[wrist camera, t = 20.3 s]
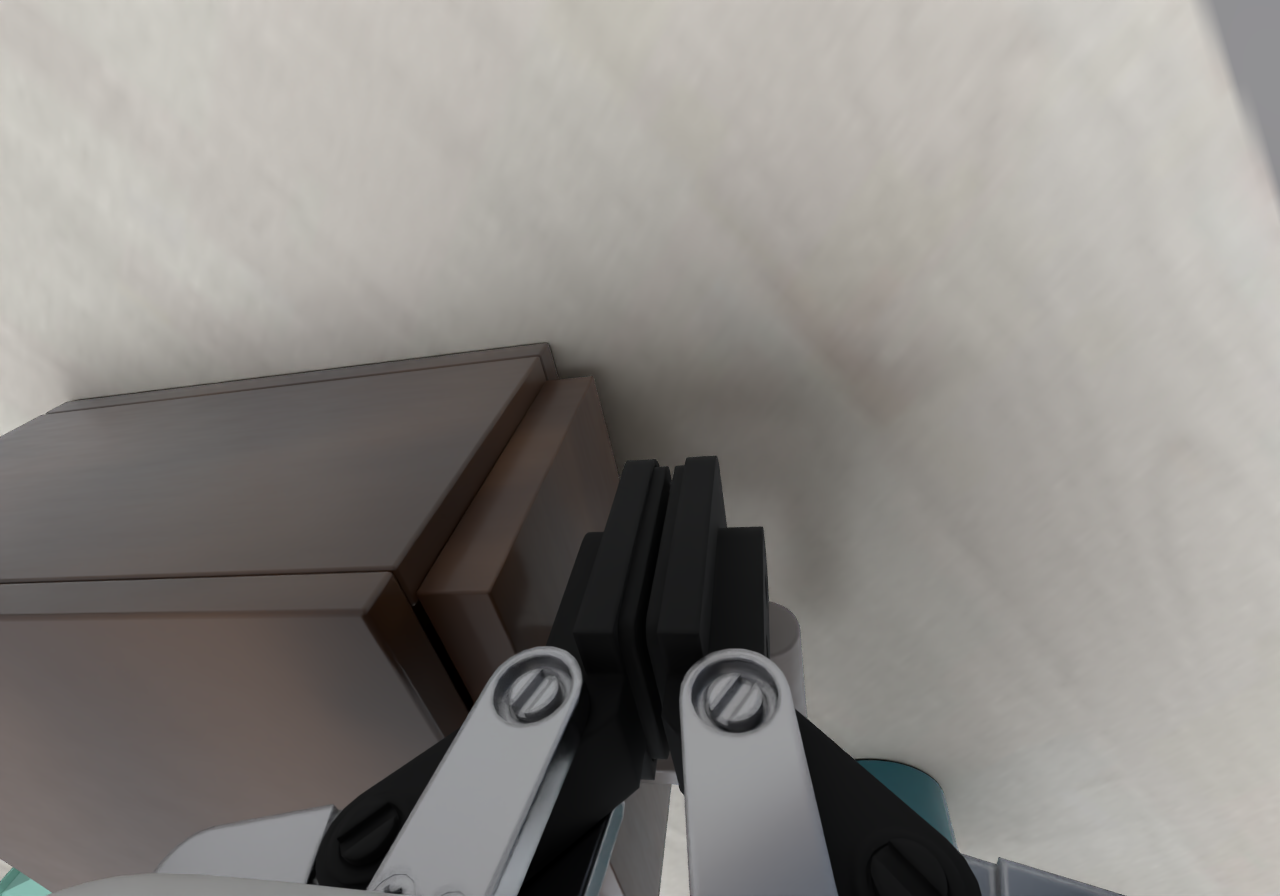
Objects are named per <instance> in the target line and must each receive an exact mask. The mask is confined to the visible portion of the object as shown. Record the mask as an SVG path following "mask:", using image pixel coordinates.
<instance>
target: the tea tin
mask: <svg viewBox="0 0 1280 896" xmlns="http://www.w3.org/2000/svg"><path fill="white" fill-rule="evenodd" d="M857 762H858V763H859V764H860V765H861V766H863V767H864V768H865V769H866V770H867V771H868V772H870V773H871V774H872V775H873V776H874V777H875V778H877V779H878V780H879V781H880V782H881V783H882V784H884V785H885V786H886V787H887V788H888V789H889V790H891V791H892V792H893V793H894V794H895V795H896V796H898V797H899V798H900V799H901V800H902V801H903V802H905V803H906V804H907V805H908V806H909V807H910V808H911V809H913V810H914V811H915V812H916V813H917V814H918V815H920V816H921V817H922V818H923V819H924V820H925V821H927V822H928V823H929V824H930V825H931V826H932V827H934V828H935V829H936V830H937V831H938V832H939V833H941V834H942V835H943V836H944V837H945V838H946V839H948V841H949V842H950V843H951V844H952V845H953V846H954V847H955V848H956V849H957V850H958V847H957V843H956V839H955V835H954V831H953V827H952V823H951V819H950V815H949V811H948V807H947V803H946V799H945V795H944V792H943V790H942V788H941V787H940V786H939V784H938V783H937V782H936V781H935V780H934V779H933V778H931V777H930V776H928V775H927V774H925V773H923V772H922V771H920V770H917V769H915V768H912V767H910V766H906V765H903V764H899V763H894V762H888V761H879V760H859V761H857Z"/></svg>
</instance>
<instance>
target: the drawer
mask: <svg viewBox="0 0 1280 896" xmlns="http://www.w3.org/2000/svg"><path fill="white" fill-rule="evenodd" d="M619 481H620V478H619V474H618V470H617V466H616V462H615V458H614V455H613V451H612V447H611V443H610V439H609V435H608V431H607V427H606V423H605V419H604V415H603V411H602V407H601V404H600V400H599V396H598V392H597V388H596V384H595V380H594V377H593V376H586V377H577V378H568V379H558V380H549V381H546V382H545V384H544V385H543V387H542V388H541V390H540V392H539V393H538V395H537V397H536V398H535V400H534V402H533V403H532V405H531V406H530V408H529V410H528V411H527V413H526V415H525V416H524V418H523V419H522V421H521V423H520V424H519V426H518V428H517V429H516V431H515V432H514V434H513V436H512V437H511V439H510V441H509V442H508V444H507V445H506V447H505V449H504V450H503V452H502V454H501V455H500V457H499V458H498V460H497V462H496V463H495V465H494V467H493V468H492V470H491V472H490V473H489V475H488V476H487V478H486V480H485V481H484V483H483V485H482V486H481V488H480V489H479V491H478V493H477V494H476V496H475V498H474V499H473V501H472V502H471V504H470V506H469V507H468V509H467V511H466V512H465V514H464V515H463V517H462V519H461V520H460V522H459V524H458V525H457V527H456V529H455V530H454V532H453V533H452V535H451V537H450V538H449V540H448V542H447V543H446V545H445V546H444V548H443V550H442V551H441V553H440V555H439V556H438V558H437V559H436V561H435V563H434V564H433V566H432V568H431V569H430V571H429V572H428V574H427V576H426V577H425V579H424V581H423V582H422V584H421V586H420V587H419V589H418V590H417V592H416V596H417V598H418V599H419V600H418V602H417V603H416V604H415V605H414V606H412V609H413V610H414V612H415V614H416V616H417V618H418V620H419V621H420V623H421V625H422V627H423V629H424V630H425V632H426V634H427V636H428V638H429V640H430V641H431V643H432V645H433V647H434V649H435V651H436V652H437V654H438V656H439V658H440V660H441V661H442V663H443V665H444V667H445V669H446V671H447V672H448V674H449V676H450V678H451V680H452V682H453V683H454V685H455V687H456V689H457V691H458V693H459V694H460V696H461V698H462V700H463V702H464V703H465V705H466V707H467V709H468V711H469V712H470V711H471V709H472V707H473V706H474V704H475V702H476V700H477V699H478V697H479V695H480V694H481V692H482V690H483V688H484V687H485V685H486V683H487V682H488V680H489V679H490V677H491V676H492V675H493V673H494V672H495V671H496V669H497V668H498V667H499V666H500V665H501V664H503V663H504V662H505V661H506V660H508V659H509V658H510V657H512V656H514V655H516V654H518V653H520V652H522V651H523V650H526V649H530V648H534V647H538V646H546V643H547V640H548V638H549V635H550V632H551V629H552V626H553V623H554V620H555V617H556V615H557V612H558V609H559V606H560V603H561V600H562V597H563V595H564V592H565V589H566V586H567V583H568V580H569V577H570V574H571V572H572V569H573V566H574V563H575V560H576V557H577V554H578V552H579V549H580V546H581V543H582V540H583V538H584V536H585V535H586V534H587V533H588V532H604V529H605V526H606V523H607V520H608V517H609V513H610V510H611V507H612V504H613V501H614V497H615V494H616V491H617V488H618V484H619ZM769 632H770V660H772V661H773V662H774V663H775V664H776V665H777V666H778V667H779V669H780V670H781V671H782V672H783V673H784V675H785V678H786V680H787V682H788V685H789V687H790V691H791V695H792V700H793V704H794V708H795V709H796V710H797V711H799V712H800V713H801V714H802V715H803V716H804V717H806V718H807V710H806V697H805V684H804V671H803V657H802V644H801V631H800V625H799V622H798V620H797V618H796V617H795V616H794V614H793V613H792V612H791V611H790V610H788V609H787V608H785V607H784V606H782V605H780V604H777V603H773V602H769ZM672 784H676V785H679V784H678V780H677V776H676V773H675V769H674V765H673V761H672V757H671V753H670V752H669V756H668V759H657V766H656V774H655V780H641V781H640V787H639V789H638V790H636V791H635V792H634V793H633V794H632V795H630V796H629V797H628V798H627V799H626V800H624V801H625V808H624V814H623V820H622V823H621V826H620V829H619V832H618V836H617V839H616V842H615V845H614V848H613V851H612V855H611V858H610V861H609V864H608V867H607V871H606V874H605V877H604V880H603V883H602V886H601V890H600V893H599V896H659V892H660V883H661V874H662V866H663V857H664V848H665V839H666V830H667V821H668V812H669V803H670V794H671V785H672Z"/></svg>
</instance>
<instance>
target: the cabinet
mask: <svg viewBox="0 0 1280 896" xmlns="http://www.w3.org/2000/svg"><path fill="white" fill-rule="evenodd" d="M558 379H559V378H558V374H557V371H556V367H555V364H554V360H553V357H552V353H551V350H550V347H549V344H548V343H542V344H534V345H526V346H517V347H509V348H501V349H493V350H485V351H477V352H469V353H460V354H452V355H444V356H436V357H428V358H420V359H412V360H404V361H395V362H387V363H379V364H371V365H363V366H355V367H347V368H339V369H330V370H322V371H314V372H306V373H298V374H290V375H282V376H273V377H265V378H257V379H249V380H241V381H233V382H225V383H217V384H208V385H200V386H192V387H184V388H176V389H168V390H160V391H152V392H143V393H135V394H127V395H119V396H111V397H103V398H95V399H86V400H78V401H70V402H66V403H64V404H62V405H60V406H58V407H56V408H54V409H52V410H50V411H49V412H47V413H46V414H45V415H41V416H39V417H37V418H35V419H33V420H31V421H29V422H27V423H25V424H23V425H22V426H20V427H18V428H16V429H14V430H12V431H10V432H8V433H6V434H4V435H2V436H1V437H0V859H2V860H3V861H5V862H6V863H8V864H9V865H11V866H12V867H14V868H15V869H17V870H18V871H20V872H21V873H23V874H24V875H26V876H27V877H29V878H30V879H32V880H33V881H35V882H36V883H38V884H39V885H41V886H43V887H44V888H46V889H47V890H49V891H50V892H52V893H54V892H57V891H60V890H63V889H66V888H70V887H73V886H77V885H80V884H84V883H88V882H91V881H96V880H101V879H106V878H111V877H117V876H126V875H137V874H149V873H153V872H154V870H155V869H156V867H157V866H158V864H159V863H160V861H161V860H162V859H163V858H164V857H165V856H166V855H168V854H169V853H170V852H171V851H172V850H173V849H174V848H175V847H176V846H177V845H178V844H179V843H181V842H182V841H184V840H185V839H187V838H188V837H190V836H191V835H193V834H194V833H196V832H198V831H201V830H203V829H206V828H209V827H212V826H215V825H221V824H226V823H232V822H237V821H242V820H248V819H253V818H259V817H264V816H270V815H275V814H281V813H286V812H291V811H297V810H302V809H308V808H313V807H319V806H324V805H329V804H334V805H335V806H336V808H337V809H338V810H342V809H344V808H345V807H346V806H347V805H348V804H350V803H351V802H352V801H353V800H354V799H356V798H357V797H358V796H359V795H361V794H362V793H363V792H365V791H366V790H368V789H369V788H371V787H372V786H374V785H375V784H377V783H378V782H380V781H381V780H383V779H384V778H386V777H387V776H389V775H390V774H392V773H393V772H395V771H396V770H398V769H399V768H401V767H402V766H404V765H405V764H406V763H408V762H409V761H411V760H412V759H414V758H415V757H417V756H418V755H420V754H421V753H423V752H424V751H426V750H427V749H429V748H430V747H432V746H433V745H435V744H436V743H438V742H439V741H441V740H442V739H444V738H445V737H446V736H448V735H449V734H451V733H452V732H454V731H455V730H457V729H458V728H460V727H461V726H462V724H463V723H464V721H465V719H466V718H467V716H468V714H469V711H468V709H467V707H466V705H465V703H464V702H463V700H462V698H461V696H460V694H459V693H458V691H457V689H456V687H455V685H454V683H453V682H452V680H451V678H450V676H449V674H448V672H447V671H446V669H445V667H444V665H443V663H442V661H441V660H440V658H439V656H438V654H437V652H436V651H435V649H434V647H433V645H432V643H431V641H430V640H429V638H428V636H427V634H426V632H425V630H424V629H423V627H422V625H421V623H420V621H419V620H418V618H417V616H416V614H415V612H414V610H413V609H412V606H414V605H415V604H416V603H417V602H418V600H419V599H418V598H417V596H416V592H417V590H418V589H419V587H420V586H421V584H422V582H423V581H424V579H425V577H426V576H427V574H428V572H429V571H430V569H431V568H432V566H433V564H434V563H435V561H436V559H437V558H438V556H439V555H440V553H441V551H442V550H443V548H444V546H445V545H446V543H447V542H448V540H449V538H450V537H451V535H452V533H453V532H454V530H455V529H456V527H457V525H458V524H459V522H460V520H461V519H462V517H463V515H464V514H465V512H466V511H467V509H468V507H469V506H470V504H471V502H472V501H473V499H474V498H475V496H476V494H477V493H478V491H479V489H480V488H481V486H482V485H483V483H484V481H485V480H486V478H487V476H488V475H489V473H490V472H491V470H492V468H493V467H494V465H495V463H496V462H497V460H498V458H499V457H500V455H501V454H502V452H503V450H504V449H505V447H506V445H507V444H508V442H509V441H510V439H511V437H512V436H513V434H514V432H515V431H516V429H517V428H518V426H519V424H520V423H521V421H522V419H523V418H524V416H525V415H526V413H527V411H528V410H529V408H530V406H531V405H532V403H533V402H534V400H535V398H536V397H537V395H538V393H539V392H540V390H541V388H542V387H543V385H544V384H545V382H546V381H549V380H558Z"/></svg>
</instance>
